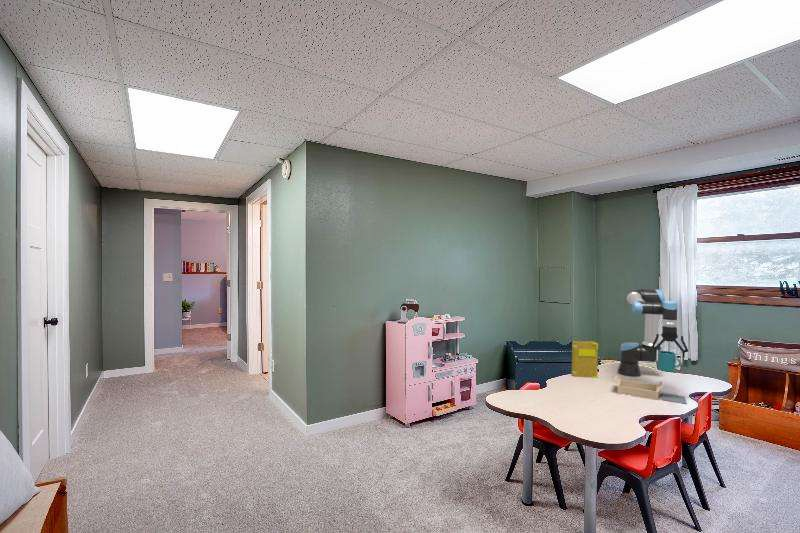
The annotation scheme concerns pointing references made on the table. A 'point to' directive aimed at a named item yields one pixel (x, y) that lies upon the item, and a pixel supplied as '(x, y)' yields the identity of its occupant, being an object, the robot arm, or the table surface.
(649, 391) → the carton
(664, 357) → the cup
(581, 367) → the book
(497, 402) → the table surface
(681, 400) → the mat
